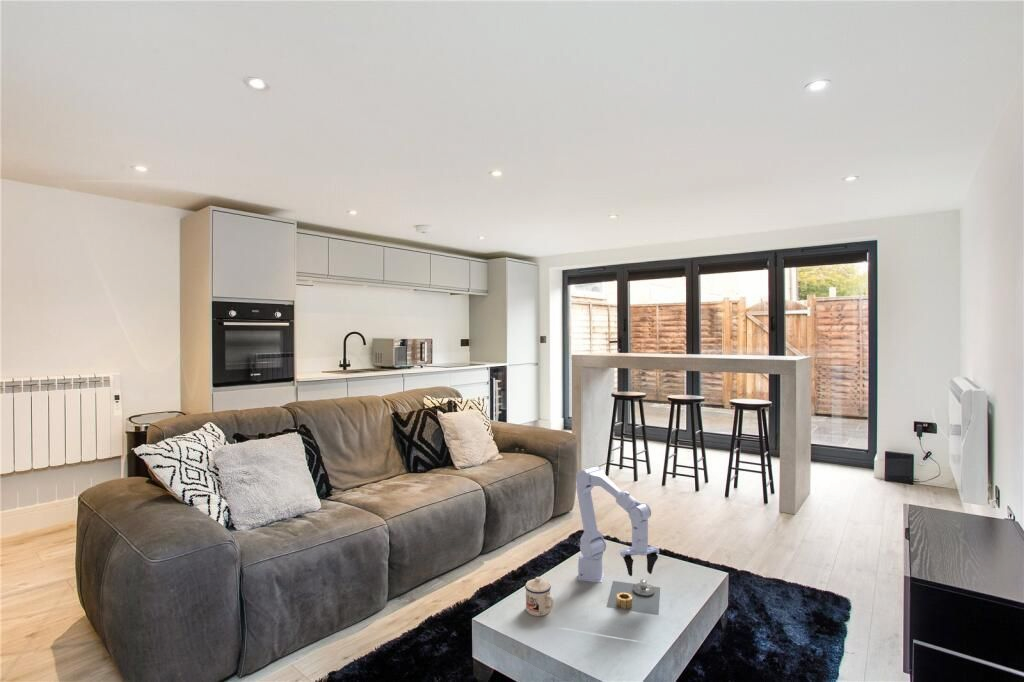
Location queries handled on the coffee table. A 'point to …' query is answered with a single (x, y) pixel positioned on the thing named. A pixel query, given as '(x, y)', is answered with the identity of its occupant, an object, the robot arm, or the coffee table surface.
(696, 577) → the coffee table surface
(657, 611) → the bench mat
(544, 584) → the teacup with lid
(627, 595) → the ring
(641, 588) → the metal peg stand
